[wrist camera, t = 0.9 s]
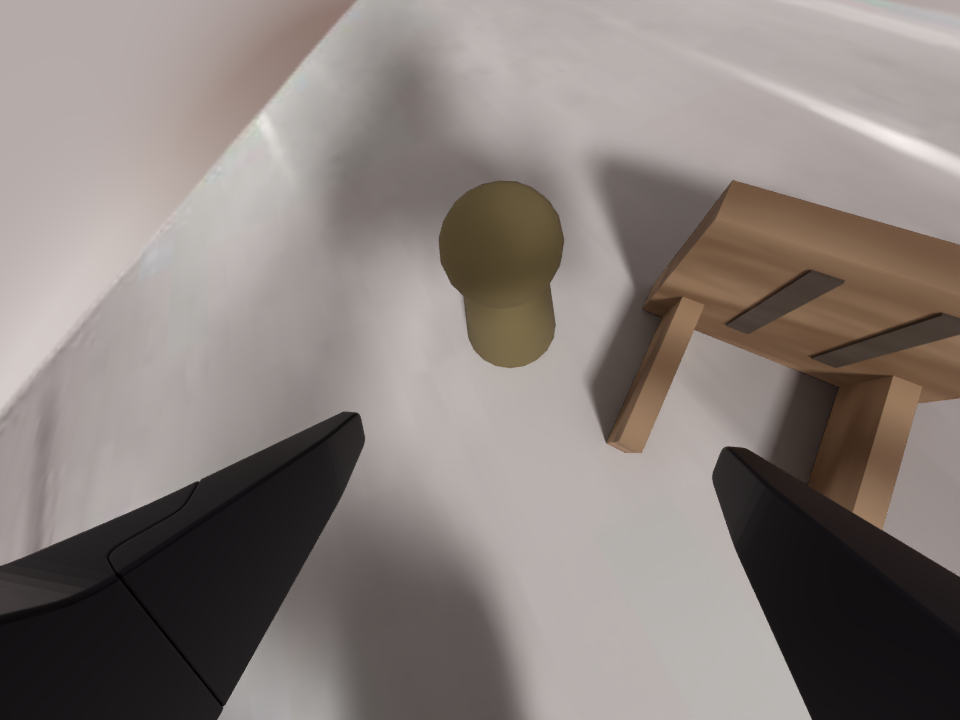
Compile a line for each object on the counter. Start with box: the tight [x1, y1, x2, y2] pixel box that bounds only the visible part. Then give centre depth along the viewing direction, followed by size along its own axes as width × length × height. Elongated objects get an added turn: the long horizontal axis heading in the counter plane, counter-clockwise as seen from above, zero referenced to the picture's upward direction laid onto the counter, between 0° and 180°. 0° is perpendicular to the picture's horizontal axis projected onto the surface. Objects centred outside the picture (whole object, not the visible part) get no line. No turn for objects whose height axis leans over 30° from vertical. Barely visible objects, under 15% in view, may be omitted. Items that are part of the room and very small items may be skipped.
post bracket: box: [606, 180, 960, 530], centre depth 16 cm, size 11×14×9 cm
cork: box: [439, 181, 564, 368], centre depth 18 cm, size 6×6×11 cm
